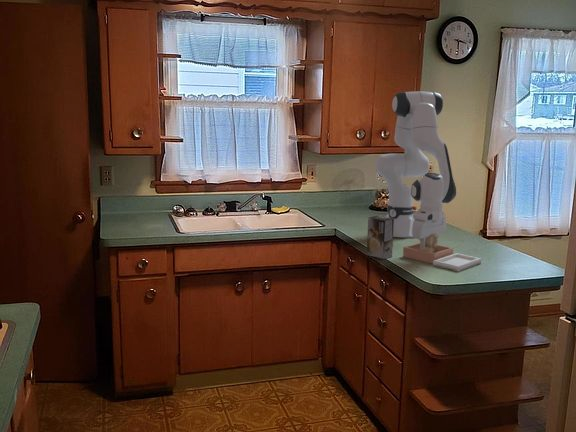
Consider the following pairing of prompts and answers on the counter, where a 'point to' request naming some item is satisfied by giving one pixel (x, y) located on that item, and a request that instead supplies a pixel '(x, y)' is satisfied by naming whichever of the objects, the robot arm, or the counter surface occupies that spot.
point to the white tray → (457, 262)
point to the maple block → (431, 244)
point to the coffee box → (380, 237)
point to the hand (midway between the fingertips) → (428, 246)
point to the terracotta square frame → (426, 253)
